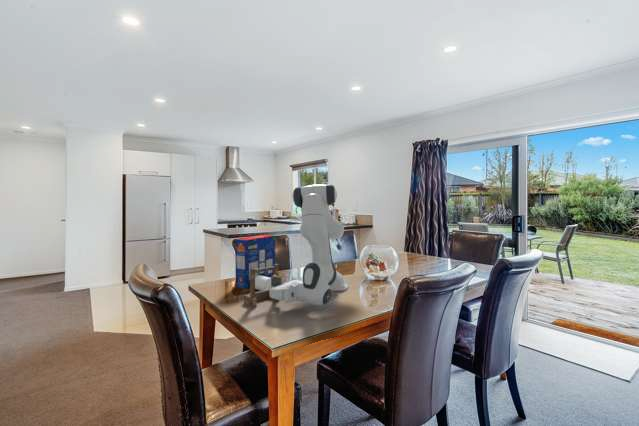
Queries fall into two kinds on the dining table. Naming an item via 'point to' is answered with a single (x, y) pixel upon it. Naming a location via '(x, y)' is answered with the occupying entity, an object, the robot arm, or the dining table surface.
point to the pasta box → (253, 257)
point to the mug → (262, 283)
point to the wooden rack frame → (254, 296)
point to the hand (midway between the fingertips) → (274, 285)
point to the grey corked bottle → (276, 281)
